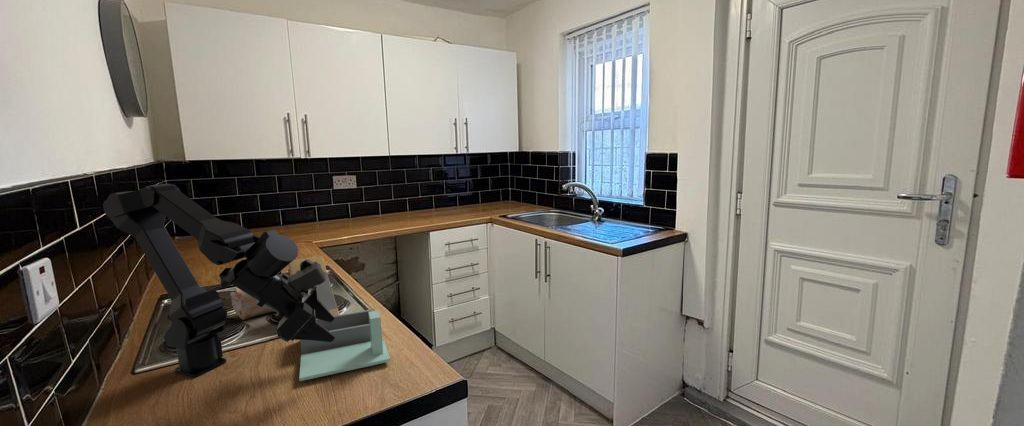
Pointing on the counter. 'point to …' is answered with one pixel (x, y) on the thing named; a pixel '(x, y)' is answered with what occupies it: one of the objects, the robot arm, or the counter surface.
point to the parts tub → (341, 332)
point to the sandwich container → (323, 289)
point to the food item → (247, 305)
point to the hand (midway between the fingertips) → (333, 329)
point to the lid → (347, 355)
